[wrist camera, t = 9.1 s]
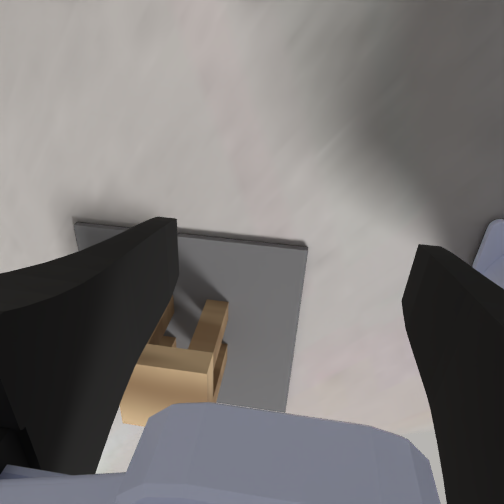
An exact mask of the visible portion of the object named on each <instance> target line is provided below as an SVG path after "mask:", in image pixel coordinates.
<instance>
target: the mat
mask: <svg viewBox="0 0 504 504" xmlns="http://www.w3.org/2000/svg"><path fill="white" fill-rule="evenodd" d="M128 229H130V228H125V227H116V226H107V225H98V224H89V223H79V222H77V223H76V224H74V230H75V235H76V240H77V245H78V250H79V251H81V250H83V249H86V248H88V247H90V246H93V245H95V244H97V243H100V242H102V241H104V240H107V239H109V238H111V237H113V236H115V235H117V234H120V233H122V232H124V231H126V230H128ZM177 237H178V257H179V277H178V280H177V283H176V286H175V289H174V292H173V294H172V295H173V299H174V314H173V316H172V318H171V320H170V322H169V325H168V327H167V329H166V331H165V333H164V335H163V336H169V337H176V347H177V348H182V349H188V347H189V345H190V342H191V340H192V337H193V334H194V332H195V329H196V327H197V324H198V321H199V319H200V316H201V313H202V311H203V308H204V306H205V303H206V300H207V299H208V300H217V301H225V302H229V305H228V321H227V325H226V328H225V332H224V335H223V339H222V342H221V343H222V344H228V346H227V362H226V366H225V370H224V374H223V378H222V381H221V385H220V389H219V393H218V397H217V401H216V403H223V404H230V405H237V406H243V407H250V408H257V409H264V410H271V411H278V412H284V413H285V411H286V404H287V396H288V389H289V382H290V375H291V368H292V361H293V354H294V347H295V340H296V332H297V325H298V318H299V311H300V304H301V297H302V290H303V283H304V275H305V268H306V261H307V254H308V247H301V246H291V245H282V244H273V243H264V242H254V241H245V240H236V239H227V238H218V237H208V236H199V235H190V234H181V233H177Z"/></svg>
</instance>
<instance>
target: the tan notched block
mask: <svg viewBox="0 0 504 504" xmlns="http://www.w3.org/2000/svg"><path fill="white" fill-rule="evenodd" d="M228 305H229V302H225V301H217V300H208V299H207V300H206V303H205V306H204V308H203V311H202V313H201V316H200V319H199V321H198V324H197V327H196V329H195V332H194V334H193V337H192V340H191V342H190V345H189V347H188V349H182V348H177V347H176V337H169V336H163V335H164V333H165V331H166V329H167V327H168V325H169V322H170V320H171V318H172V316H173V314H174V299H173V295H172V297H171V300H170V302H169V304H168V306H167V307H166V309H165V311H164V313H163V315H162V317H161V319H160V321H159V322H158V324H157V326H156V328H155V330H154V331H153V333H152V335H151V337H150V339H149V341H148V342H147V344H146V346H145V348H144V350H143V352H142V353H141V355H140V357H139V359H138V361H137V364H136V366H135V368H134V370H133V373H132V375H131V377H130V380H129V382H128V385H127V387H126V390H125V392H124V395H123V397H122V400H121V403H120V410H121V416H122V421H123V423H125V424H132V425H138V426H146V423H147V421H148V418H149V417H151V416H153V415H155V414H156V413H158V412H160V411H162V410H163V409H165V408H167V407H169V406H170V405H172V404H177V403H198V402H212V403H216V401H217V397H218V393H219V389H220V385H221V381H222V378H223V374H224V370H225V366H226V362H227V346H228V344H222V343H221V342H222V339H223V335H224V332H225V328H226V325H227V321H228Z"/></svg>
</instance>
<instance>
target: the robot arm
mask: <svg viewBox="0 0 504 504" xmlns="http://www.w3.org/2000/svg"><path fill="white" fill-rule="evenodd" d="M178 277H179V257H178V237H177V219H174V218H164V217H155V218H152V219H149V220H147V221H145V222H143V223H141V224H138V225H136V226H134V227H132V228H130V229H128V230H126V231H124V232H122V233H120V234H117V235H115V236H113V237H111V238H109V239H107V240H104V241H102V242H100V243H97V244H95V245H93V246H90V247H88V248H86V249H83V250H81V251H78V252H76V253H73V254H70V255H67V256H64V257H61V258H58V259H55V260H52V261H49V262H45V263H42V264H38V265H34V266H30V267H26V268H22V269H18V270H14V271H10V272H6V273H1V274H0V504H440V500H439V496H438V493H437V489H436V485H435V481H434V478H433V473H432V470H431V466H430V462H429V460H428V459H427V458H426V457H425V456H424V455H423V454H422V453H421V452H420V451H419V450H418V449H417V448H416V447H415V446H414V445H413V444H412V443H411V442H410V441H409V440H408V439H406V438H404V437H402V436H399V435H396V434H393V433H390V432H387V431H384V430H381V429H378V428H375V427H372V426H369V425H363V424H356V423H349V422H342V421H335V420H328V419H322V418H315V417H308V416H301V415H294V414H287V413H281V412H274V411H267V410H260V409H253V408H246V407H240V406H233V405H226V404H219V403H212V402H198V403H177V404H172V405H170V406H169V407H167V408H165V409H163V410H162V411H160V412H158V413H156V414H155V415H153V416H151V417H149V418H148V421H147V423H146V426H145V428H144V431H143V433H142V435H141V438H140V440H139V443H138V445H137V447H136V450H135V452H134V455H133V457H132V459H131V462H130V464H129V467H128V469H127V472H122V473H105V474H95V473H96V470H97V467H98V464H99V461H100V458H101V455H102V452H103V449H104V446H105V444H106V441H107V438H108V435H109V432H110V429H111V426H112V424H113V421H114V418H115V416H116V413H117V411H118V408H119V405H120V403H121V400H122V397H123V395H124V392H125V390H126V387H127V385H128V382H129V380H130V377H131V375H132V373H133V370H134V368H135V366H136V364H137V361H138V359H139V357H140V355H141V353H142V352H143V350H144V348H145V346H146V344H147V342H148V341H149V339H150V337H151V335H152V333H153V331H154V330H155V328H156V326H157V324H158V322H159V321H160V319H161V317H162V315H163V313H164V311H165V309H166V307H167V306H168V304H169V302H170V300H171V297H172V294H173V292H174V289H175V286H176V283H177V280H178ZM402 307H403V315H404V321H405V327H406V331H407V335H408V338H409V341H410V344H411V348H412V351H413V354H414V357H415V360H416V363H417V366H418V369H419V372H420V376H421V379H422V382H423V385H424V388H425V391H426V394H427V398H428V402H429V405H430V409H431V414H432V419H433V424H434V429H435V434H436V439H437V444H438V450H439V456H440V462H441V468H442V474H443V479H444V487H445V494H446V500H447V504H504V219H497V220H494V221H492V222H491V223H490V224H489V225H488V227H487V230H486V232H485V235H484V237H483V240H482V242H481V245H480V248H479V250H478V253H477V255H476V258H475V260H474V263H473V265H472V267H471V266H470V265H468V264H467V263H466V262H464V261H463V260H461V259H460V258H458V257H457V256H455V255H454V254H453V253H451V252H449V251H448V250H446V249H444V248H442V247H440V246H430V245H421V244H419V245H418V248H417V252H416V255H415V258H414V262H413V265H412V268H411V271H410V275H409V278H408V281H407V285H406V288H405V291H404V295H403V298H402Z"/></svg>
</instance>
